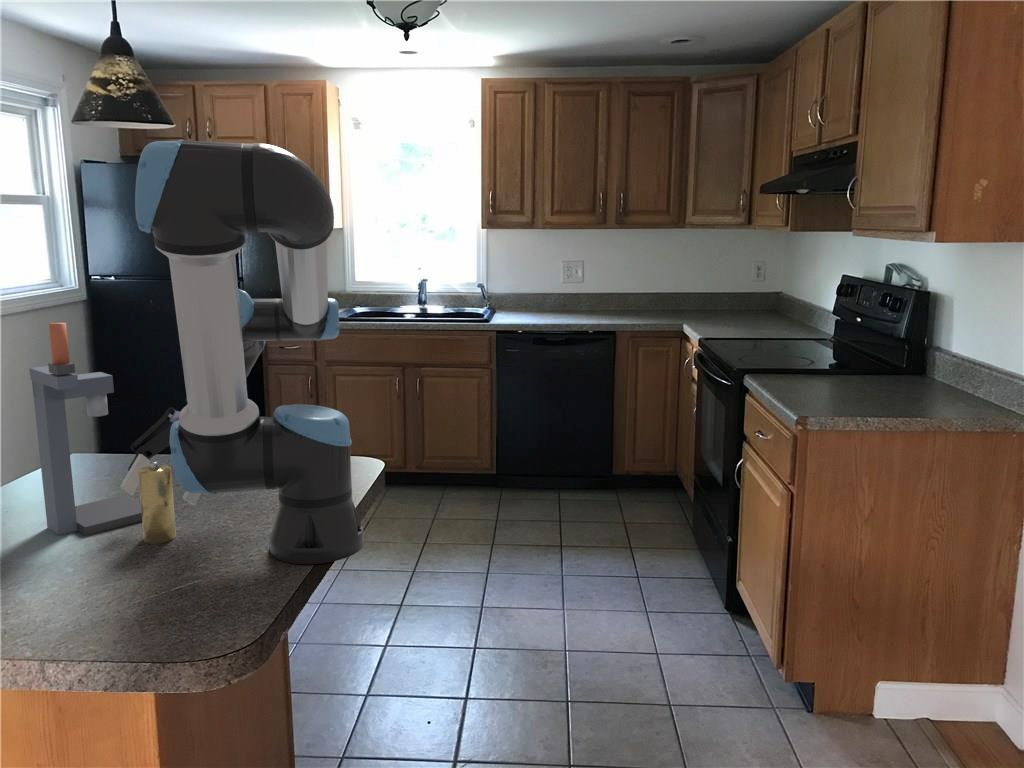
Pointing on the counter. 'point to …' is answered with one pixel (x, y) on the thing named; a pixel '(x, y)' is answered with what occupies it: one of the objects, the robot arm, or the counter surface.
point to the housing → (157, 503)
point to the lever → (60, 350)
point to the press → (57, 455)
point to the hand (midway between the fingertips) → (156, 496)
